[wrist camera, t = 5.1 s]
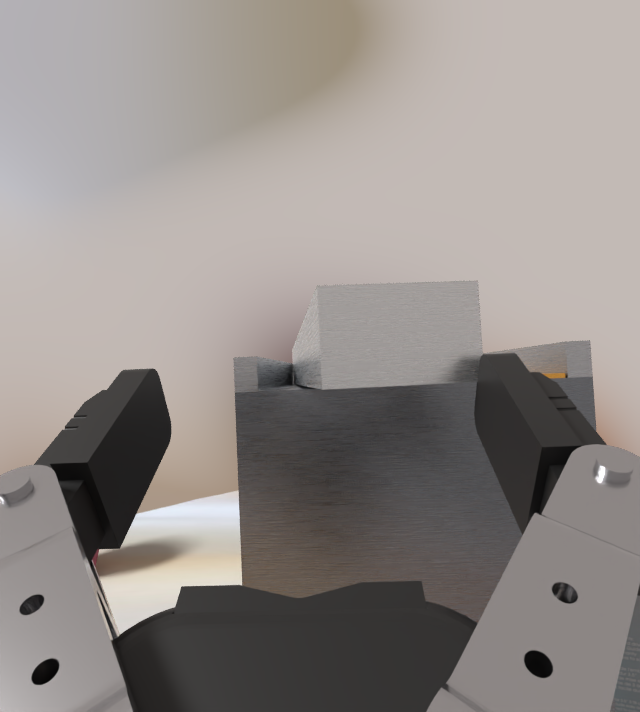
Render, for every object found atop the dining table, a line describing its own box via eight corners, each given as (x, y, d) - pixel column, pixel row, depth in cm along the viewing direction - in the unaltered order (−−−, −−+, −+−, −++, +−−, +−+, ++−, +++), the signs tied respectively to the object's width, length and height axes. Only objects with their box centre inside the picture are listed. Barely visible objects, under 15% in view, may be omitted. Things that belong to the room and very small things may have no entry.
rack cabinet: (300, 817, 35) (281, 364, 37) (511, 817, 35) (483, 354, 36) (265, 1186, 19) (233, 357, 21) (656, 1199, 19) (597, 340, 20)
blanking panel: (293, 384, 35) (292, 350, 35) (347, 381, 36) (345, 347, 36) (322, 390, 11) (317, 285, 11) (484, 381, 12) (477, 280, 12)
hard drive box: (563, 688, 48) (550, 488, 49) (653, 703, 45) (638, 491, 46) (591, 828, 33) (572, 540, 34) (726, 862, 31) (702, 549, 32)
